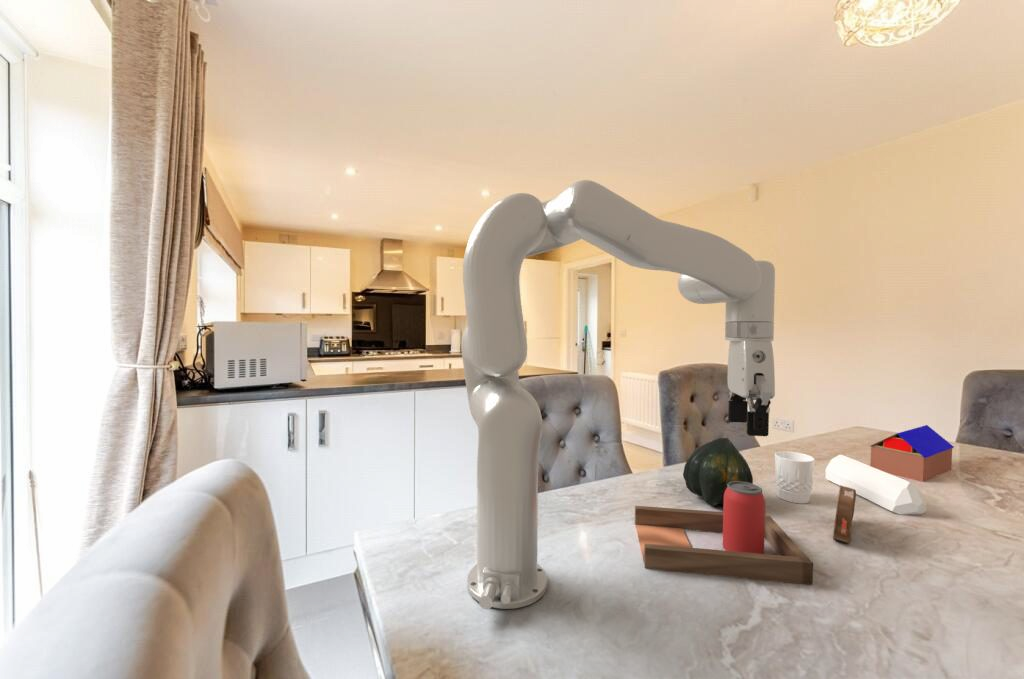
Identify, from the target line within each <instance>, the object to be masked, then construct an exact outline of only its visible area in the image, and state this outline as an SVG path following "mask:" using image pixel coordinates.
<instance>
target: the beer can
mask: <svg viewBox="0 0 1024 679" xmlns="http://www.w3.org/2000/svg"><path fill="white" fill-rule="evenodd" d="M727 486H728V487H727V488H726V490H725V493H724V506H723V507H722V508H723V509H722V510H723V511H722V512H723V533H722V548H723V549H724V551H735V552H747V553H758V554H765V537H764V534H765V515H766V499H765V496H764V495H763V489H762V488H761V487H760V486H759V485H757V484H755V483H753V484H752V483H748V482H742V481H733V482H729V483H728V484H727Z"/></svg>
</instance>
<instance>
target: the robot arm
mask: <svg viewBox="0 0 1024 679" xmlns="http://www.w3.org/2000/svg"><path fill="white" fill-rule="evenodd" d="M580 240H583V241H585V242H586V243H589V244H590V245H592V246H594V247H596V248H597V249H600V251H603V252H605V253H607V254H609V255H611V256H612V257H614V258H616V259H618V260H619V261H621V262H623V263H625V264H627V265H628V266H631V267H635V268H639V269H642V270H643V269H644V270H649V271H662V272H670V273H676V274H680V275H679V276H678V280H677V288H678V291H679V293H680V294H681V296H682V297H683V298H684V299H686V301H688V302H690V303H691V302H692V303H693V304H694V303H695V304H698V305H699V304H700V305H707V304H708V305H709V304H711V305H712V304H719V303H721V304H722V303H724V304H725V316H724V317H725V319H724V320H725V323H724V324H725V326H724V327H725V328H724V340H725V341H729V346H728V358H727V375H726V376H727V379H726V380H727V388H728V391H729V392H728V412H727V413H728V416H727V420H728V422H730V423H746V435H748V436H751V437H767V436H768V437H769V429H770V428H769V427H770V426H769V422H770V420H769V418H770V412H771V410H770V409H771V408H770V405H771V403H772V399H773V398H775V396H776V395H775V394H776V386H775V385H776V380H775V357H774V349H773V343H772V342H774V333H775V332H774V331H775V330H774V329H775V326H774V325H775V323H774V321H775V293H776V290H775V288H776V287H775V286H776V269H775V265H774V264H773V263H772V262H770V261H768V260H755V259H754V258H753V256H752V255H751V254H749V253H748V252H746V251H744V250H743V249H742V248H740V247H739V246H737V245H736V244H733V243H732V242H730V241H728V240H727V239H725V238H724V237H721V236H718V235H716V234H714V233H711V232H709V231H704V230H702V229H697V228H694V227H690V226H686V225H683V224H679V223H675V222H672V221H667V220H663V219H660V218H658V217H656V216H655V215H653V214H651V213H650V212H648V211H646V210H645V209H642V208H640V207H639V206H638V205H635V203H632V202H630V201H629V200H627V199H625V198H624V197H622V196H621V195H620V194H617V193H616V192H614V191H613V190H610V189H609V188H608V187H606V186H604V185H603V184H600V183H598V182H595V181H592V180H588V179H584V180H578V181H576V182H573V183H572V184H570V185H569V186H568V187H566V188H565V189H563V190H562V191H561V192H560V193H559V194H558V195H557V196H556V197H553V198H550V199H548V200H546V201H543V202H541V200H540V199H539V198H537V197H536V196H535V195H534V194H533V195H532V194H529V193H527V192H526V193H525V192H518V193H514V194H510V195H507V196H505V197H504V198H502V199H500V200H498V202H496V203H494V205H492V206H491V207H489V209H488V210H487V211H486V212H485V213H484V214H483V215H481V217H480V219H479V220H478V221H477V223H476V224H475V226H474V228H473V230H472V232H471V234H470V236H469V239H468V241H467V244H466V246H465V247H466V248H465V251H464V256H463V263H462V285H463V294H464V306H465V313H466V314H465V315H466V321H467V325H466V328H465V330H464V331H463V335H462V339H461V358H462V364H463V373H464V379H465V386H466V393H467V394H466V395H467V400H468V407H469V411H470V414H471V416H472V419H473V420H474V422H475V424H476V427H477V430H478V441H477V442H478V443H477V445H478V447H477V459H476V460H477V461H476V564H475V565H474V566H473V567H471V569H470V570H469V572H468V574H467V580H466V582H467V583H466V584H467V585H466V586H467V590H468V593H469V595H471V597H472V598H473V599H475V600H476V601H477V602H479V605H480V607H481V608H482V609H484V610H489V609H492V608H494V609H502V610H503V609H504V610H509V609H510V610H512V609H519V608H520V609H521V608H523V607H527V606H529V605H531V604H534V603H536V602H537V601H538V600H539V599H541V598H542V597H543V596H544V595H545V593H546V591H547V589H548V575H547V573H546V570H544V568H543V567H542V566H541V565H540V564H539V563H538V532H539V531H538V522H539V520H538V519H539V518H538V517H539V515H538V514H539V513H538V511H539V510H538V509H539V508H538V507H539V505H538V504H539V503H538V502H539V501H538V499H539V498H538V497H539V495H538V494H539V492H538V491H539V487H538V486H539V479H538V478H539V459H540V458H539V456H540V454H539V453H540V449H541V448H540V447H541V440H542V434H543V433H542V432H543V417H542V413H541V408H540V406H539V403H538V402H537V400H536V398H534V397H533V395H532V394H531V393H530V392H529V391H528V390H526V389H525V388H523V387H522V386H521V384H520V383H521V382H520V377H519V370H520V369H521V368H522V367H523V365H524V364H525V362H526V359H527V355H528V340H527V335H526V329H525V323H524V316H523V308H522V307H523V306H522V300H521V286H520V283H521V282H520V276H521V268H522V265H523V262H524V259H526V258H529V257H533V256H535V255H536V256H537V255H540V254H543V253H546V252H550V251H551V252H552V251H553V250H556V249H560V248H562V247H565V246H568V245H571V244H573V243H577V242H578V241H580ZM754 401H755V402H754ZM748 409H749V410H748Z"/></svg>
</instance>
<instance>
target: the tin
mask: <svg viewBox="0 0 1024 679" xmlns="http://www.w3.org/2000/svg"><path fill="white" fill-rule="evenodd" d="M856 496H857V494H856V490H855V489H852V488H848V487H844V486H842V485H839V491H838V497H837V502H836V503H837V504H836V512H835V520H834V524H833V526H834V527H833V536H832V539H833V540H836V541H839V542H842V543H846V544H850V543H851V538H852V536H851V535H852V522H853V519H854V514H855V505H856V498H857V497H856Z"/></svg>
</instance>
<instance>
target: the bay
mask: <svg viewBox="0 0 1024 679" xmlns="http://www.w3.org/2000/svg"><path fill="white" fill-rule="evenodd" d="M634 525H636V526H635V529H636V534H638V535H637V539H638V538H639V539H638V543H639V547H641V548H640V552H641V557H642V556H643V557H642V560H643V566H644V565H645V566H644V568H645V569H648V568H651V570H658V569H659V570H658V571H669V572H670V571H671V572H682V573H689V574H690V573H691V574H700V575H709V576H710V575H712V576H720V577H721V576H722V577H732V578H742V579H753V580H761V581H762V580H763V581H771V582H772V581H773V582H780V583H781V582H782V583H792V584H801V585H812V586H813V579H814V575H813V574H814V562H813V561H812V560H811V559H810V558H809V557H808V556H807V555H806V554H805V553H804V551H803V550H802V549H801V548H800V547H799V546H798V545H797V544H796V543H795V541H794V540H792V539H791V537H790V536H789V535H788V533H786V532H785V531H784V530H783V529H782V528H781V526H780V525H779V524H778V523H777V522H776V521H775V520H774V519H773V518H772V517H771V515H768V514H765V534H764V539H765V540H766V541H767V543H769V545H770V546H771V547H772V548H773V550H774V551H775V552H776V554H770V553H769V554H767V553H764V554H758V553H747V552H735V551H726V550H725V549H724V550H723V549H710V548H699V547H692V546H691V544H690V542H689V539H688V538H687V536H686V535H687V534H686V533H685V530H684V529H688V530H687V531H696V530H700V531H699V532H708V531H711V533H720V532H723V511H712V510H699V509H686V508H685V509H684V508H674V507H671V508H670V507H659V506H647V505H634ZM689 529H690V530H689Z"/></svg>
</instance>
